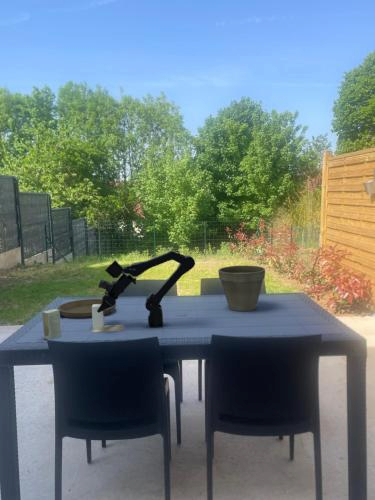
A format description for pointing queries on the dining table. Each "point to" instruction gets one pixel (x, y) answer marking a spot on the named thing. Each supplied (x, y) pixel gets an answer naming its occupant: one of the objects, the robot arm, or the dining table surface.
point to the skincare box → (51, 323)
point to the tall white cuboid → (97, 317)
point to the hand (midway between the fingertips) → (98, 309)
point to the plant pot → (242, 286)
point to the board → (110, 328)
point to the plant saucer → (81, 308)
